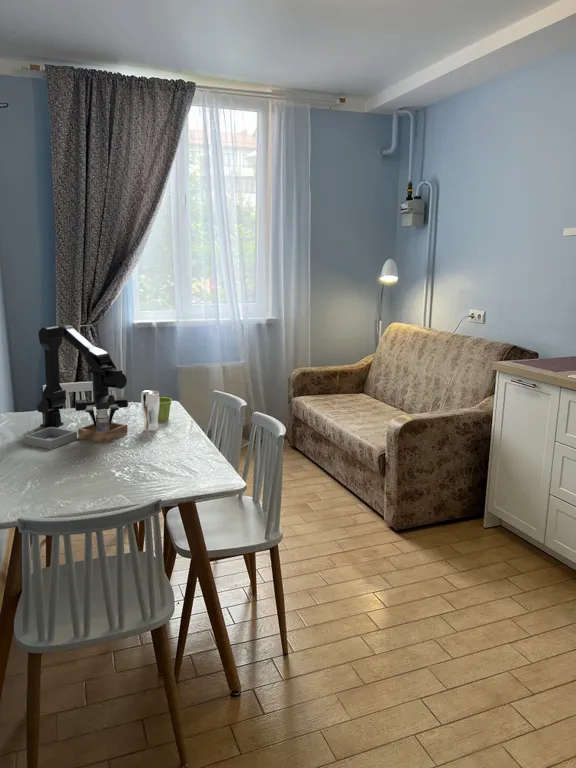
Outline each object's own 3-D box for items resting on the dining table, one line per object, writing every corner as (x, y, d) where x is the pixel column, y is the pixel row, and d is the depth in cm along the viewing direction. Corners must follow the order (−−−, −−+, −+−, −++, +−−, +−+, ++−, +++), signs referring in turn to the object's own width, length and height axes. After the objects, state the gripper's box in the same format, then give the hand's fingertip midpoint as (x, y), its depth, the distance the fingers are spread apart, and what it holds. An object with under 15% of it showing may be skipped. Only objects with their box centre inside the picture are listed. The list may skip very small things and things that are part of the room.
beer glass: (162, 426, 233) (161, 390, 230) (157, 432, 226) (156, 394, 223) (145, 426, 234) (144, 389, 230) (139, 431, 227) (138, 394, 224)
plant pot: (176, 418, 246) (175, 398, 244) (166, 424, 237) (166, 403, 235) (155, 416, 248) (155, 396, 246) (145, 422, 239) (145, 401, 237)
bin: (24, 443, 210) (24, 436, 209) (51, 434, 221) (51, 426, 221) (51, 449, 205) (50, 441, 205) (77, 439, 216) (76, 431, 216)
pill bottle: (98, 429, 223) (96, 407, 221) (110, 429, 223) (109, 407, 221) (95, 432, 218) (93, 411, 216) (107, 432, 218) (106, 411, 217)
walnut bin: (78, 437, 218) (78, 428, 217) (101, 428, 229) (101, 420, 228) (105, 442, 213) (104, 433, 212) (127, 433, 224) (127, 424, 223)
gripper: (74, 392, 206) (77, 434, 210) (128, 388, 213) (130, 429, 216) (73, 385, 216) (76, 425, 220) (125, 382, 223) (127, 421, 226)
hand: (102, 425), depth 220 cm, fingers closed on pill bottle, 5 cm apart
